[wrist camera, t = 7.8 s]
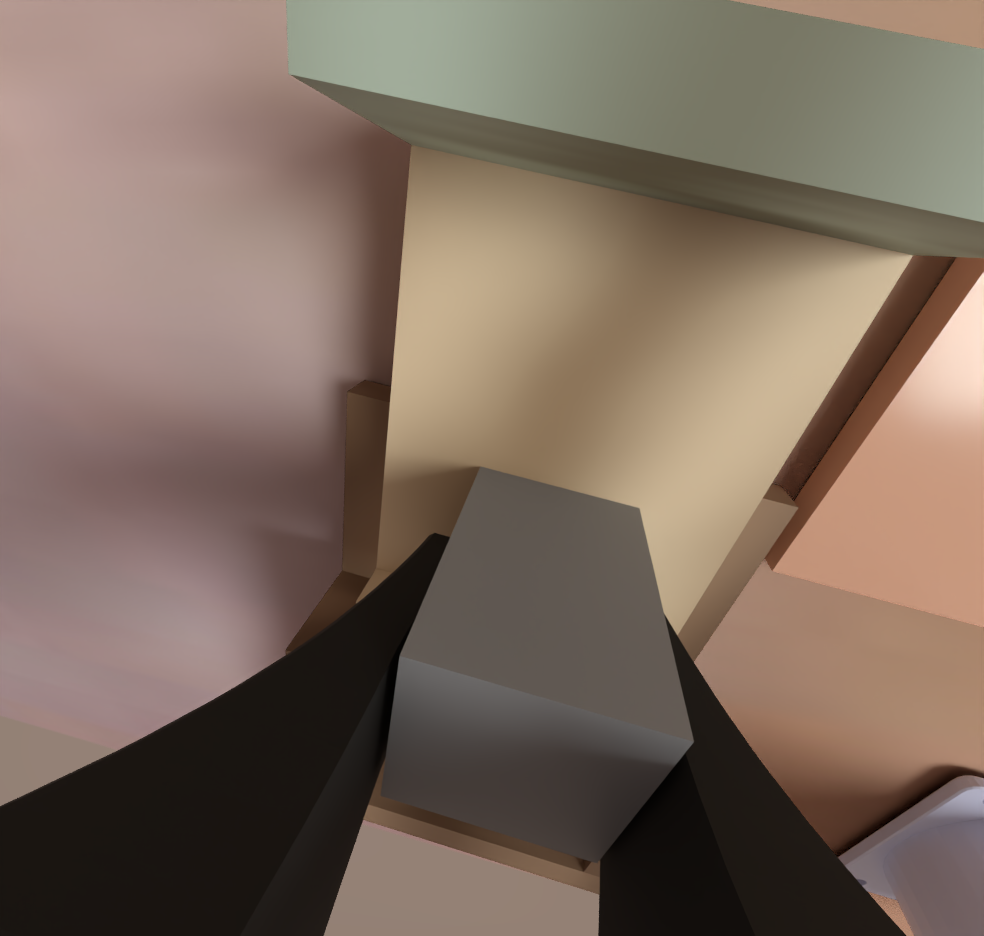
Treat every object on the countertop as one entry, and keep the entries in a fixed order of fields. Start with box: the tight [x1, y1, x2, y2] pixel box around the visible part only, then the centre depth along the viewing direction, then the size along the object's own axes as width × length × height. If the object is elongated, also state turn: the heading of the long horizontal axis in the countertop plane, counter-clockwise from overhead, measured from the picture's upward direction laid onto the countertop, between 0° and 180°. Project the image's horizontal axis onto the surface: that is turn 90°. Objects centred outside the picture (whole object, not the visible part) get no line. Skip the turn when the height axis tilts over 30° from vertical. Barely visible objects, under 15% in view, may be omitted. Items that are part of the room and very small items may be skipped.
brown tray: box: [286, 380, 799, 895], centre depth 13 cm, size 11×14×4 cm
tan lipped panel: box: [286, 0, 984, 635], centre depth 8 cm, size 8×11×4 cm
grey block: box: [380, 466, 694, 863], centre depth 8 cm, size 4×4×5 cm
